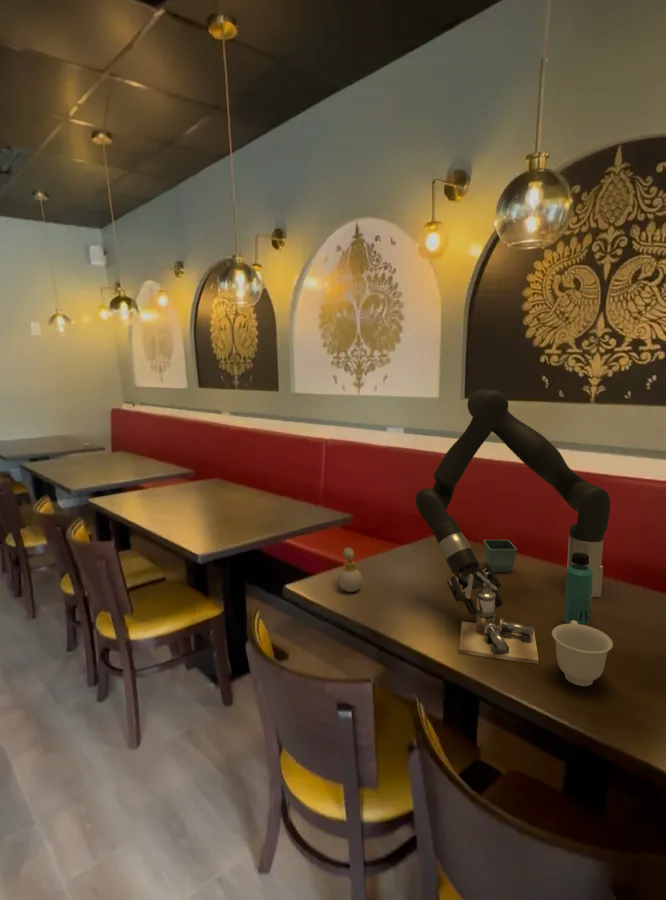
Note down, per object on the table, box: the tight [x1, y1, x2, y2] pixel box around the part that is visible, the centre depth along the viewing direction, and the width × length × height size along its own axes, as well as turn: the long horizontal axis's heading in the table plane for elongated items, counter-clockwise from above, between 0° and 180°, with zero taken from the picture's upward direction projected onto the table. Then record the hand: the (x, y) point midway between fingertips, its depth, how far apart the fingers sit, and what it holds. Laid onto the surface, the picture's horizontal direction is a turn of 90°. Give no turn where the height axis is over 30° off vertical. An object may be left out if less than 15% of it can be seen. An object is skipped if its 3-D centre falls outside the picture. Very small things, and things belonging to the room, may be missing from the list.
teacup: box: [551, 620, 614, 687], centre depth 116 cm, size 12×15×10 cm
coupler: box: [475, 589, 496, 634], centre depth 134 cm, size 5×5×10 cm
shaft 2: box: [498, 617, 535, 643], centre depth 131 cm, size 8×4×4 cm, turn 63°
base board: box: [458, 621, 539, 665], centre depth 130 cm, size 18×14×1 cm
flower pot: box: [483, 539, 518, 573], centre depth 175 cm, size 9×9×9 cm
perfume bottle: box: [338, 547, 364, 593], centre depth 162 cm, size 8×10×12 cm
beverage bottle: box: [563, 553, 593, 626], centre depth 136 cm, size 6×7×20 cm
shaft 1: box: [484, 622, 509, 654], centre depth 127 cm, size 8×4×4 cm, turn 3°
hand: (488, 610), depth 133 cm, fingers open, 8 cm apart
